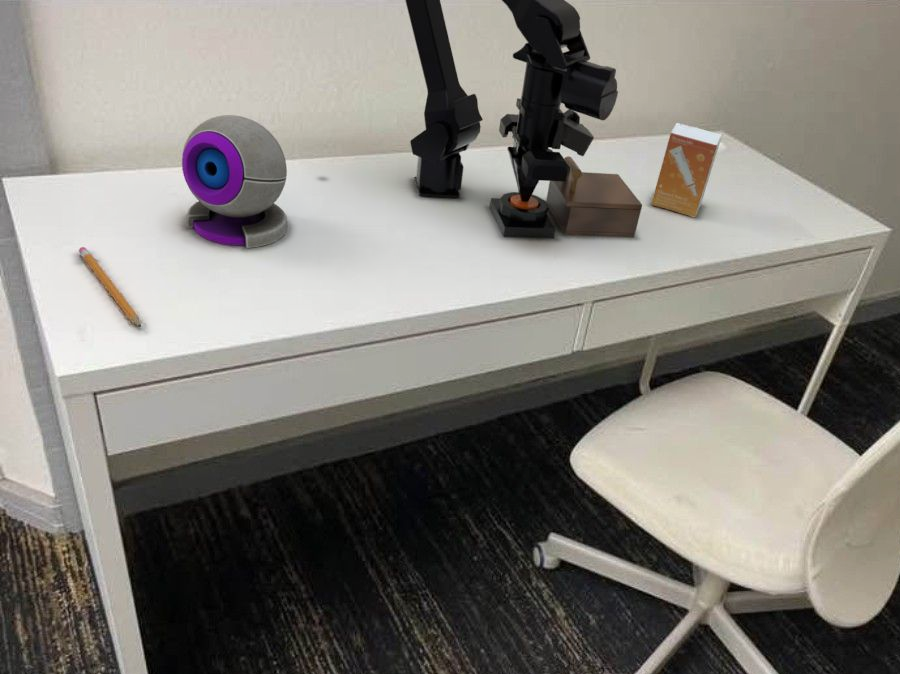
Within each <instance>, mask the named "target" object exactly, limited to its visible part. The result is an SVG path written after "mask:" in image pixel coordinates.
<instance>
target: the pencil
mask: <svg viewBox="0 0 900 674" xmlns="http://www.w3.org/2000/svg"><path fill="white" fill-rule="evenodd" d="M78 252H79V254H80V256H81V257H82V258H83V260H85V262H86V263H87V265H88V266H89V267H90V268H91V270H92V271H93V273H94V274H95V276H96V277H97V278H98V280H100V282H101V283H102V284H103V286H104V287H105V289H106V290H107V291H108V293H109V294H110V296H112V298H113V299H114V300H115V302H116V303H117V305H118V306H119V307H120V309H121V310H122V311H123V312H124V314H125V315H126V316H127V318H128V319H129V321H131V323H133V324H135V325H136V326H138V327H140V328H141V327H142V325H141V320H140V317H139V316H138V313H136V311H135V310H134V308H133V307H132V306H131V305H130V304H129V302H128V301H127V300H126V298H125V297H124V296H123V294H122V293H121V292H120V290H119V289H118V288H117V287H116V285H115V284H114V283H113V281H112V280H111V279H110V277H109V276H108V275H107V273H106V271H105V270H103V269H102V267H101V265H100V264H99V263H98V262H97V260H96V259H95V258H94V256H93V254H91V252H90V251H89V250H88V249H87V248H86V247H85V246H81V247H80V248H79V249H78Z"/></svg>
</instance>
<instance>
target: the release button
mask: <svg viewBox="0 0 900 674" xmlns="http://www.w3.org/2000/svg"><path fill="white" fill-rule="evenodd" d="M510 204H512V205H513V206H515V207H518V208H521V209H528V210H533V209H537V208H538V205H539V202H538V201H537V200H536V199H535V198H533V197H530V199H529V201H528V202H523V201H522V200H521V199H520V195H514V196H512V197H511V199H510Z"/></svg>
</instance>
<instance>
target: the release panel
mask: <svg viewBox="0 0 900 674" xmlns="http://www.w3.org/2000/svg"><path fill="white" fill-rule="evenodd" d="M514 195H519V191H511V192H507V193H503V194H502V196H501V197H500V198H499V197H498V198H497V197H491V198H490V201H489V210H490V212H491V214H492V216H493V218H494V220H495V223H496V224H497V226H498V229H499V230H500V233H501V235H502V237H503V238H528V239H555V233H556V227H555V225H554V223H553V222H552V219H550V217H549V215H548V212H549V206H548V204H547V203H546V200H545V199H544V198H541V197H540V196H538V195H535V194H532V195H531V197H533V198H535V199H536V200H537V201H538V202H539V205H538V208H537V209H533V210H528V209H521V208H518V207H515V206H513V205H512V204H510V199H511V197H512V196H514Z"/></svg>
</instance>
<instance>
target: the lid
mask: <svg viewBox="0 0 900 674" xmlns="http://www.w3.org/2000/svg"><path fill="white" fill-rule="evenodd" d="M563 158H564V159H565V161H566V162H567V164H568V165H569V166H570V168H571V169H570V174H569V179H568V181H566V182H561V181H549V183H550V182H551V183H552V185H553V186H554V188H555V189H556V191H557V193H558V194H559V196H560V197H561V199H562V200H563V202H564V204H565V205H566V206H572V207H594V208H617V209H640V210H641V211H642V209H643V204H642V202H641V201H640V200H639V199H638V197H637V196H636V194H634V192H633V191H632V190H631V189H630V187H629V186H628V185H627V184H626V182H625V181H624V179H622V177H621V176H620V175H619V174H617V173H606V172H605V173H604V172H603V173H602V172H586V171H582V170H581V168H580V167H579V165H578V164H577V163H576V162H575V160H574V158H573V157H571V156H569V155H568V156H565V157H563Z"/></svg>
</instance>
